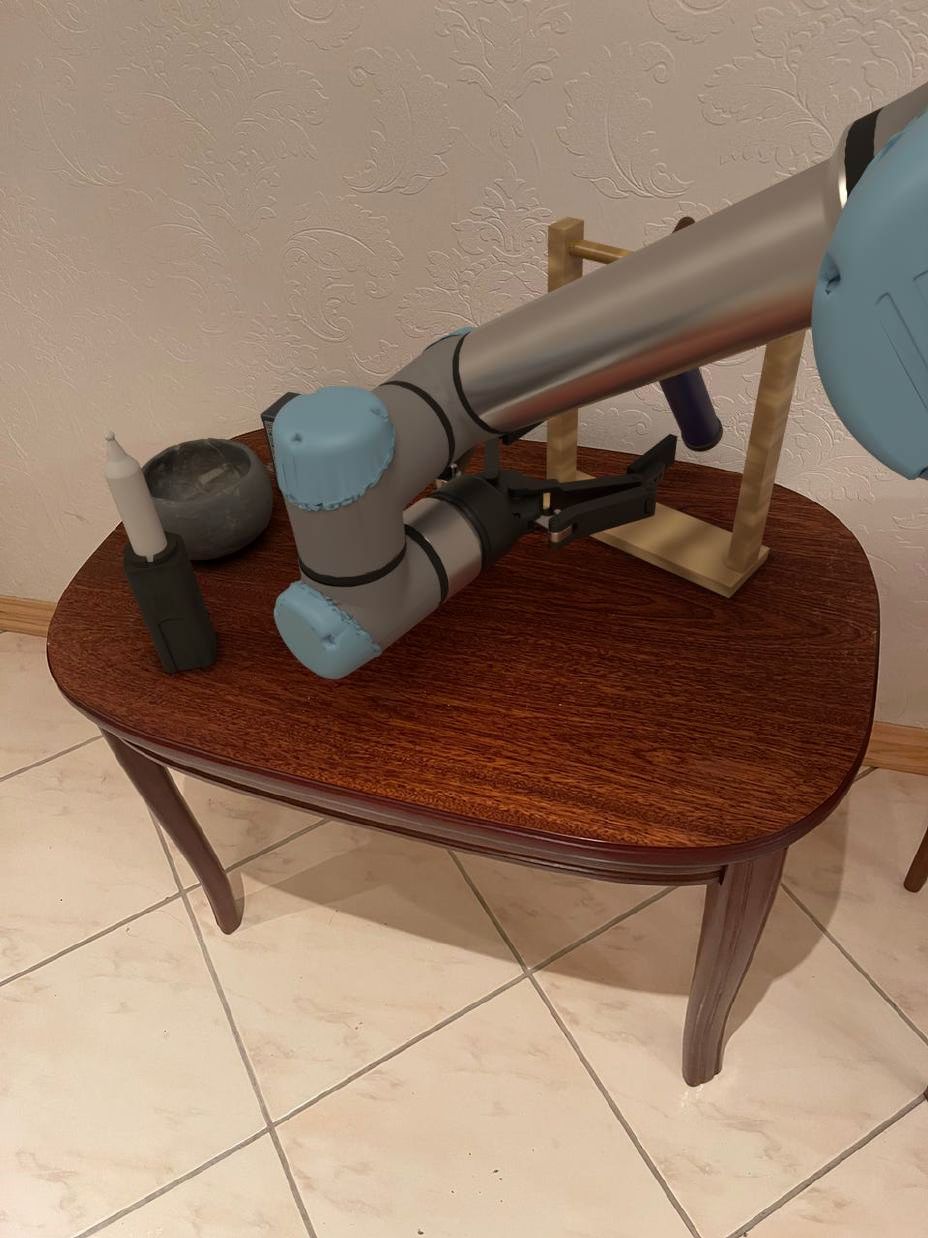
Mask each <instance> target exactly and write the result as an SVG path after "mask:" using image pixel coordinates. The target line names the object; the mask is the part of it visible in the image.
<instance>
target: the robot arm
mask: <svg viewBox="0 0 928 1238" xmlns="http://www.w3.org/2000/svg"><path fill="white" fill-rule="evenodd" d="M809 330H811V342H812V349H813V356H814V361H815V366H816V369H817V373H818V376H819V379H820V382H821V385H822V388H823V390H824V393H825V395H826V397H827V399H828V401H829V403H830V405H831V407H832V409H833V410H834V412H835V414H836V416H837V417H838V418H839V421H841V423H842V424H843V426H844V427H845V428H846V430H847V431H848V433H849V434H850V435H851V436H852V438H854V440H855V441H856V442H857V443H858V444H859V445H860V446H861V447H862V448H863V449H864V450H865V451H866V452H867V453H869V454H870V455H871V456H872V457H873V458H874V459H875V460H877V461H878V462H879V463H881V464H882V465H883V466H885V467H886V468H888V469H889V470H891V471H893V472H894V473H896V474H898V475H900V476H901V477H903V478H904V479H906V480H908V481H915V480H916V479H921V480H925V481H927V482H928V81H926V82H924V83H923V84H921V85H920V86H918V87H916V88H915V89H913V90H911V91H910V92H907V93H906V94H904V95H902V96H901V97H899V98H897V99H895V100H893V101H891V102H890V103H888V104H886V105H884V106H882V107H880V108H878V109H876V110H873V111H872V112H870V113H868V114H865V115H863V116H862V117H860V118H858V119H856V120H854V121H852V122H851V123H849V124H847V125H846V127H844V129H843V131H842V133H841V135H840V138H839V140H838V142H837V144H836V147H835V149H834V151H833V153H832V155H831V156H830V157H829V158H827V159H825V160H823V161H820V162H819V163H817V164H814V165H812V166H810V167H808V168H805V169H804V170H802V171H800V172H798V173H795V174H794V175H792V176H791V175H790V176H789V177H786V178H784V179H783V180H781V181H779V182H776V183H775V184H773V185H771V186H768V187H766V188H764V189H762V190H760V191H758V192H756V193H754V194H752V195H750V196H747V197H746V198H744V199H741V200H739V201H736V202H735V203H733V204H731V205H728V206H727V207H725V208H723V209H720V210H719V211H716V212H714V213H712V214H710V215H708V216H705V217H704V218H702V219H700V220H697V221H695V223H693V224H691V225H689V226H687V227H685V228H683V229H681V230H679V231H677V232H675V233H672V232H671V233H670V234H668V235H666V236H664V237H662V238H660V239H658V240H656V241H654V242H652V243H649V244H648V245H645V246H644V247H641V248H639V249H637V250H635V251H634V252H633V253H631V254H629V255H627V256H624V257H622V258H620V259H618V260H616V261H614V262H612V263H610V264H608V265H606V264H605V265H603V266H602V267H599V268H598V269H596V270H593V271H591V272H589V273H586V274H585V275H582V277H581V278H579V279H577V280H574V281H572V282H570V283H568V284H566V285H564V286H562V287H560V288H558V289H556V290H554V291H551V292H549V293H548V292H547V293H545V294H543V295H541V296H539V297H536V298H535V299H532V300H531V301H528V302H527V303H524V304H522V305H520V306H518V307H515V308H514V309H512V310H510V311H507V312H506V313H503V314H502V315H499V316H498V317H495V318H493V319H491V320H489V321H487V322H485V323H483V324H481V325H478V326H476V327H475V326H465V327H461V328H458V329H456V330H453V331H452V332H450V333H448V334H446V335H444V336H441V337H440V338H438V339H437V340H435V341H434V342H432V343H430V344H429V345H428V346H426V347H425V348H424V349H423V350H422V352H421V353H420V354H419V355H418V356H417V357H415V358H414V359H412V360H411V361H410V362H409V363H407V364H406V365H405V366H403V367H402V368H401V369H400V370H399V371H397V372H396V373H394V374H393V375H391V377H390V378H388V379H386V381H384V382H383V383H380V384H379V385H377V386H376V387H374V388H373V389H372V390H371V391H370V390H367V389H365V388H361V387H357V386H351V385H330V386H323V387H319V388H317V389H316V391H315V392H311V393H300V394H301V395H299V396H297V397H295V398H293V399H292V400H290V401H289V402H288V403H286V404H285V405H284V406H283V407H282V408H281V409H280V411H279V412H278V414H277V415H276V417H275V420H274V423H273V426H272V436H273V444H274V451H275V452H274V456H275V461H276V467H277V479H278V484H279V488H280V489H281V491H280V492H281V493H282V495H283V496H282V497H283V499H284V504H285V507H286V510H287V511H286V512H287V514H288V518H289V522H290V525H291V530H292V533H293V538H294V542H295V545H296V549H297V554H298V555H297V556H298V558H297V564H298V568H299V572H300V579H299V580H297V581H294V582H290V585H289V587H288V588H287V589H285V590H284V591H282V593H280V594H279V595H278V596H277V598H276V600H275V606H274V609H273V619H274V622H275V625H276V628H277V631H278V633H279V634H280V636H281V638H282V640H283V641H284V644H285V645H286V646H287V648H288V649H289V650H290V652H291V653H292V655H293V656H294V657H295V658H296V659H297V660H298V661H299V662H300V663H301V664H302V665H303V666H304V667H305V668H306V669H309V670H310V671H311V672H313V673H314V674H315V675H317V676H318V677H321V678H325V679H329V680H339V679H342V678H345V677H347V676H348V675H350V674H352V673H353V672H354V671H356V670H357V669H359V668H360V667H362V666H363V665H365V664H367V663H368V662H370V661H371V660H373V659H375V658H378V657H380V656H381V655H382V654H383V652H384V651H385V650H386V649H387V648H388V647H389V646H391V645H393V644H394V643H395V642H396V641H397V640H399V639H400V638H401V637H402V636H404V635H405V634H406V633H407V632H409V631H410V630H411V629H412V628H414V627H415V626H416V625H418V624H419V623H420V622H421V621H422V620H424V619H425V618H426V617H428V616H429V615H430V614H432V613H433V612H434V611H436V610H437V609H438V608H439V607H440V606H441V605H443V604H444V603H446V602H448V601H449V600H450V599H451V598H453V596H455V595H456V594H457V593H459V592H460V591H461V590H462V589H464V588H465V587H466V586H468V585H469V584H470V583H471V582H473V581H475V580H476V578H477V577H478V576H479V575H481V574H483V573H485V572H486V571H488V570H489V569H490V568H491V567H493V566H494V565H495V564H497V563H498V562H499V561H500V560H502V559H503V558H505V557H506V556H507V555H508V554H510V552H511V551H512V550H513V549H514V547H515V546H516V544H517V542H518V541H519V540H520V539H521V538H522V537H523V536H525V535H529V534H533V533H535V532H536V533H539V534H540V535H541V536H544V537H545V538H547V546H548V548H549V549H551V550H553V551H558V550H559V551H560V550H562V549H563V548H565V547H566V546H568V545H570V544H571V543H572V542H574V541H576V540H578V539H582V538H585V537H590V536H589V535H592V534H595V533H599V532H602V531H605V530H609V529H612V528H615V527H619V526H622V525H625V524H629V523H632V522H635V521H639V520H642V519H645V518H649V517H652V516H654V515H655V509H656V502H657V501H658V500H657V499H658V485H660V483H662V482H663V481H664V476H665V472H666V471H667V470H669V468H671V466H673V465H675V461H676V454H677V453H676V452H677V445H678V435H675V434H672V433H669V434H668V435H666V436H665V437H664V438H662V439H661V440H660V441H658V442H656V444H655V445H653V446H652V447H651V448H649V449H648V450H647V451H645V452H644V453H643V454H642V455H640V456H639V457H638V458H636V459H635V460H633V462H631V463H630V464H629V465H628V466H627V467H626V474H619V475H610V476H609V475H608V476H602V477H595V478H594V479H586V480H578V481H571V482H563V483H561V482H559V481H558V480H557V479H547V478H546V479H537V478H535V477H533V476H529V475H524V474H522V473H521V471H519V470H516V469H514V468H512V467H510V468H507V469H506V468H500V440H501V444H502V445H504V446H507V447H510V446H511V445H512V444H513V443H515V442H517V441H518V440H520V439H521V438H523V437H524V436H526V435H527V434H529V433H530V432H531V431H533V430H535V429H536V428H537V427H539V426H541V425H542V424H543V423H545V422H547V420H548V419H550V418H553V417H556V416H559V415H562V414H564V413H567V412H570V411H573V410H576V409H578V410H579V409H582V408H585V407H587V406H591V405H593V404H596V403H599V402H602V401H605V400H608V399H610V398H614V397H617V396H619V395H622V394H625V393H629V392H631V391H634V390H638V389H640V388H643V387H646V386H649V385H652V384H654V383H659V382H658V381H661V380H664V379H666V378H669V377H672V376H675V375H678V374H681V373H684V372H687V371H690V370H693V369H696V368H698V367H699V368H701V367H704V366H707V365H710V364H713V363H716V362H718V361H721V360H725V359H728V358H731V357H733V356H736V355H739V354H742V353H744V352H748V351H751V350H753V349H756V348H760V347H763V346H766V345H767V344H768V343H771V342H774V341H777V340H780V339H783V338H786V337H789V336H792V335H795V334H797V333H800V332H803V331H806V332H807V331H809ZM483 443H484V452H483V453H484V455H483V472H476V473H471V474H465V472H466V471H467V469H468V467H469V465H470V462H471V460H472V459H473V456H474V454H475V452H476V450H477V448H478V446H479V445H480V444H483ZM432 483H433V491H432V492H430V493H429V494H428V495H426V497H424V498H421V499H419V500H417V501H416V502H414V503H413V504H412V505H410V506H409V507H408V508H406V507H407V505H409V504H410V503H411V502H413V500H414V499H415V498H416V497H418V496H419V495H420V494H421V493H422V492H423V491H424V490H426V489H427V488H428V486H430V485H431V484H432ZM544 493H550V506H549V508H547V509H543V505H544Z"/></svg>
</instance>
